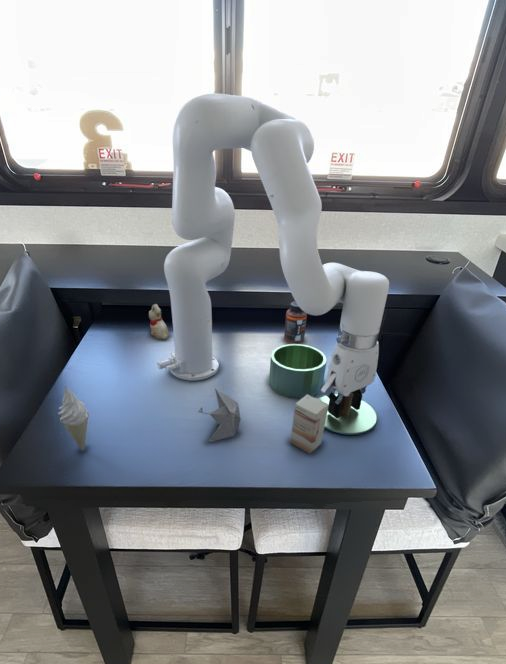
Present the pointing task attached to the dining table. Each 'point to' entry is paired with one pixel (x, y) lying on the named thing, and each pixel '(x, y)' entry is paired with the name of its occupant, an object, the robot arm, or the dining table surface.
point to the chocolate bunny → (158, 324)
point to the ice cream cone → (74, 417)
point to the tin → (297, 370)
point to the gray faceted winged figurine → (225, 417)
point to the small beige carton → (308, 423)
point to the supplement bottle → (295, 324)
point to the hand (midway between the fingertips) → (343, 409)
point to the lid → (350, 417)
